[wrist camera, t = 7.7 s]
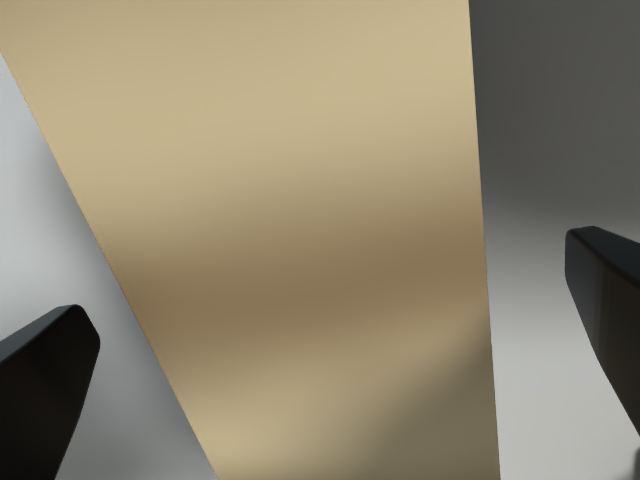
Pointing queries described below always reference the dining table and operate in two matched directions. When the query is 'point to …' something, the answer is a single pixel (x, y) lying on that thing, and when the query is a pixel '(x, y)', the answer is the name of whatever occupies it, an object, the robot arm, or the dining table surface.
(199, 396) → the oak plank
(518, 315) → the dining table surface
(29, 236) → the dining table surface
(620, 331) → the robot arm
